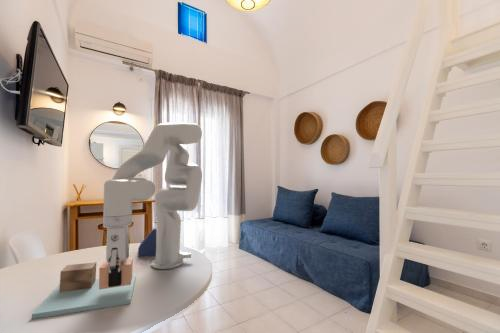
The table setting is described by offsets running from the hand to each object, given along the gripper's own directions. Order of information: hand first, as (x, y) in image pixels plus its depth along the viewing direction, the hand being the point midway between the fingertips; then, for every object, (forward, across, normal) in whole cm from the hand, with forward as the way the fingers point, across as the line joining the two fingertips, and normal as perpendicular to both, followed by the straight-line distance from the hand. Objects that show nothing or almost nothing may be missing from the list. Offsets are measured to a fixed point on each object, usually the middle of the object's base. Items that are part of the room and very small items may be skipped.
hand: (116, 280), depth 70 cm
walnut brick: (+3, +8, +12) cm, 15 cm away
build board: (+5, +3, +7) cm, 9 cm away
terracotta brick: (+1, 0, 0) cm, 1 cm away
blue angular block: (+7, +42, -10) cm, 43 cm away
